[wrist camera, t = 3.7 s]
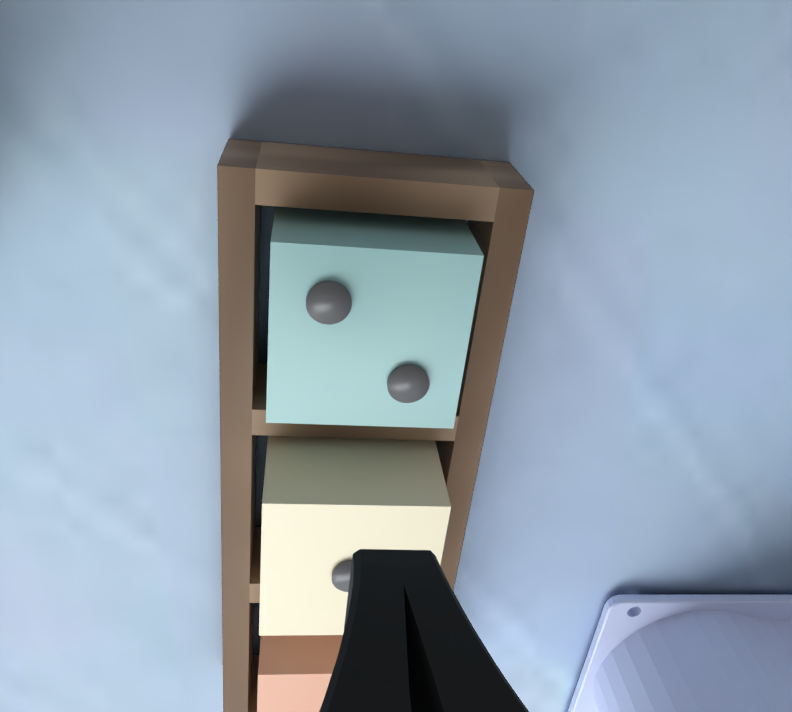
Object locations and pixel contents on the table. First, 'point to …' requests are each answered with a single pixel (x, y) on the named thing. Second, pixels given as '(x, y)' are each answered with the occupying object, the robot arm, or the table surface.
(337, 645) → the tile three
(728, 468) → the table surface
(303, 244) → the tile two
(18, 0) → the table surface
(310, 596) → the tile one
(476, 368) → the tile tray
